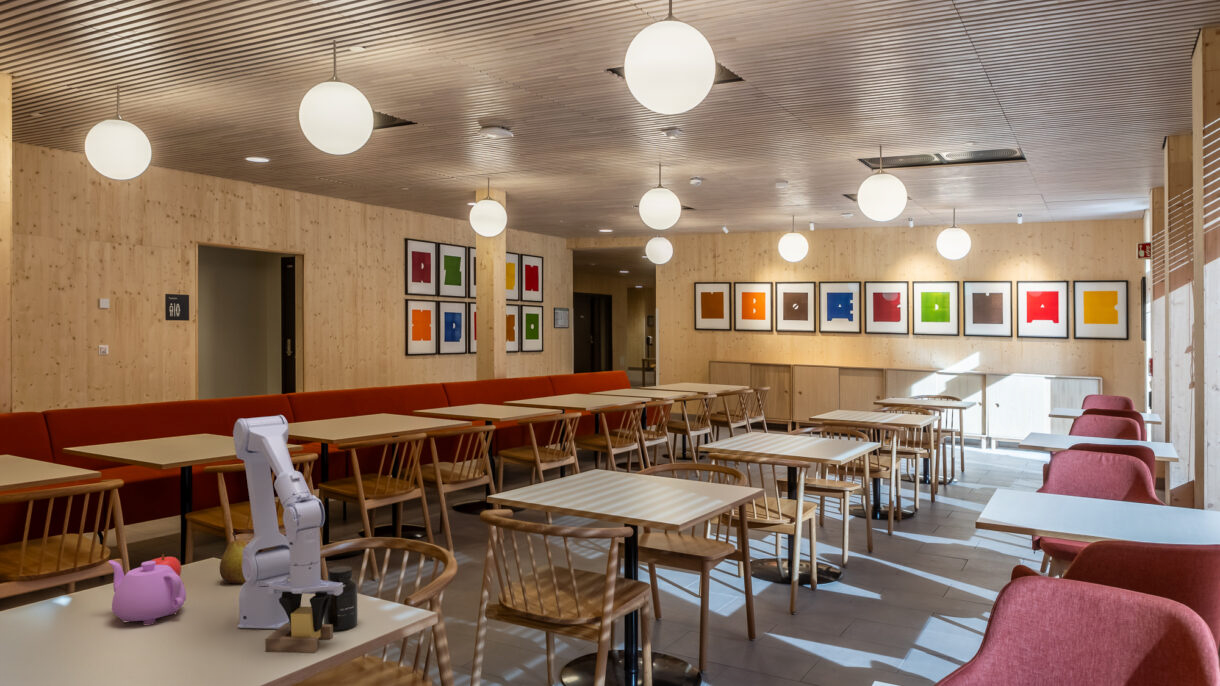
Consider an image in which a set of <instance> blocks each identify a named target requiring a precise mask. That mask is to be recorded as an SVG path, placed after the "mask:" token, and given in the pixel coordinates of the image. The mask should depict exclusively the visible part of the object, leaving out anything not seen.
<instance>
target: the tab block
mask: <svg viewBox="0 0 1220 686" xmlns="http://www.w3.org/2000/svg"><path fill="white" fill-rule="evenodd" d="M291 634H292V637H317V640H319V639H318V638H319V637H321V631H320V630H319V631H317V632H314V627H313V613H312V607H311V606H301V607H299V608H298V609H297V610H295V611H294V612H293V613H291Z"/></svg>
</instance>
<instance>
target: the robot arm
mask: <svg viewBox="0 0 1220 686" xmlns="http://www.w3.org/2000/svg"><path fill="white" fill-rule="evenodd" d="M289 428H290V427H289V422H288V420H287V419H286V417H285V416H284V415H282V414H278V415H271V416H260V417H259V416H258V417H250V418H244V417H243V418H238V419H237V420H236V422H235V423H234V426H233V431H232V435H233V437H232V438H233V442H234V443H233V445H234V451H235V454H236V455H235V456H236V458H237V459H239V460H242V461H243V463H244V468H245V474H246V480H247V481H246V482H247V489H248V496H249V497H248V498H249V503H250V511H251V519H252V525H253V526H252V527H253V534H254V537H253V538H252V539H251V540H250V541H249V542H248V543H247V545H246V546H245V548H244V549H243V552H242V554H243V562H242V571H243V576H244V578H245V580H246V581H247V582H245V583H243V584H242V585H241V587H240V590H239V595H238V611H239V612H238V613H239V623H238V624H237V628H238V629H266V630H267V629H268V630H269V629H272V630H273V629H274V630H275V629H276V630H278V629H279V628H281V627H282V626H283V625H285V624H290V625H291V613H293V612H294V611H295V610H297V609H298V608H299V607H302V606H301V605H302V597H303V594H304V595H305V594H306V595H312V594H313V595H314V596H312V597H310V598H309V603H310V607H312V613H313V627H314V632H317V631H319V630H320V629H321V628H322V624H324V614H325V611H326V608H327V605H328V603H329V601H330V599H331V597H332V595H333V594H334V595H340V594H341V593H342V592H343V583H337V582H330V581H329V580H323V579H322V576H321V575H322V574H321V573H322V569H321V539H320V536H321V535H320V534H321V532H320V531H321V530H320V528H322V527H323V526H324V524H325V520H326V513H325V507H324V505H323V503H322V500H321V499H320V498H318V497H316V495H315V494H312V493H311V491H310V489H309V486H308V484H307V482H306V480H305V478H304V475H303V473H302V472H300V471H297V470H295V468H294V465H293V462H292V458H291V455H290V452H289V449H288V446H287V443H288V440H289V433H290V429H289ZM271 470H272V471H273V473H274V475H275V476H276V479H275V480H274V484H273V480H272V478H273V477H272V472H271ZM274 489H275V491H276V494H277V496H278V498H279V501H280V503H281V505H282V508H283V510H284V511H283V514H282V521H283V525H284V529H285V535H284V534H282V533H281V532H280V529H279V520H278V515H277V508H276V500H275V494H274ZM275 547H277V548H275ZM270 548H273V549H270ZM265 549H268V550H265ZM259 550H264V551H259Z"/></svg>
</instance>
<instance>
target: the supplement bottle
mask: <svg viewBox="0 0 1220 686" xmlns="http://www.w3.org/2000/svg"><path fill="white" fill-rule="evenodd" d="M327 573H328V574H327V575H328V576H327V581H330V582H337V583H343V592H342V593H341V594H340V595H334V594H333V595H332V597H331V599H330V601H329V603H328V605H327V608H326V611H325V614H324V618H323V624H331V625H333V632H339V631H347V630H351V629H352V628H354V627H356V625H357V624H358V620H359V618H358V611H359V610H358V584H357V582H356V581H355V580H354V579H352V578H353V568H352V567H351V566H345V565H344V566H335V567H332V568H330V569H329V570H328V572H327Z"/></svg>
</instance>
